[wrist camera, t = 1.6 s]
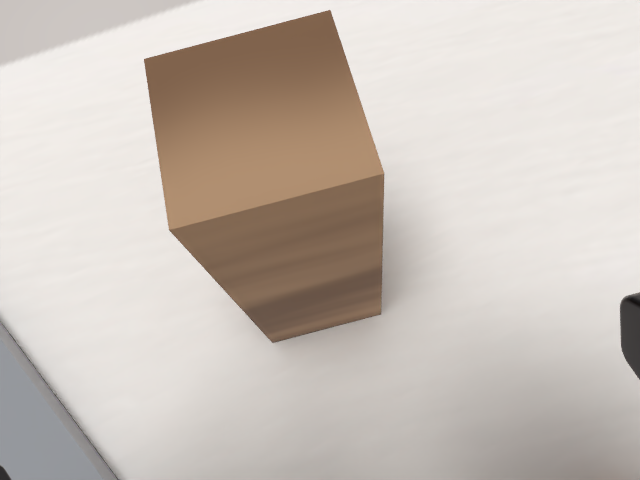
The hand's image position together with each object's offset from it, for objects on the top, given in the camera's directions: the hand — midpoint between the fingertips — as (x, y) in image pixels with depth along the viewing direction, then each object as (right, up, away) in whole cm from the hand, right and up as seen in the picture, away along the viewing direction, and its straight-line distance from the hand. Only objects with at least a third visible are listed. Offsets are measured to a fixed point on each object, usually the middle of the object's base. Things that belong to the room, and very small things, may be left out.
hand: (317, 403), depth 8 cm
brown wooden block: (0, +1, +14) cm, 14 cm away
